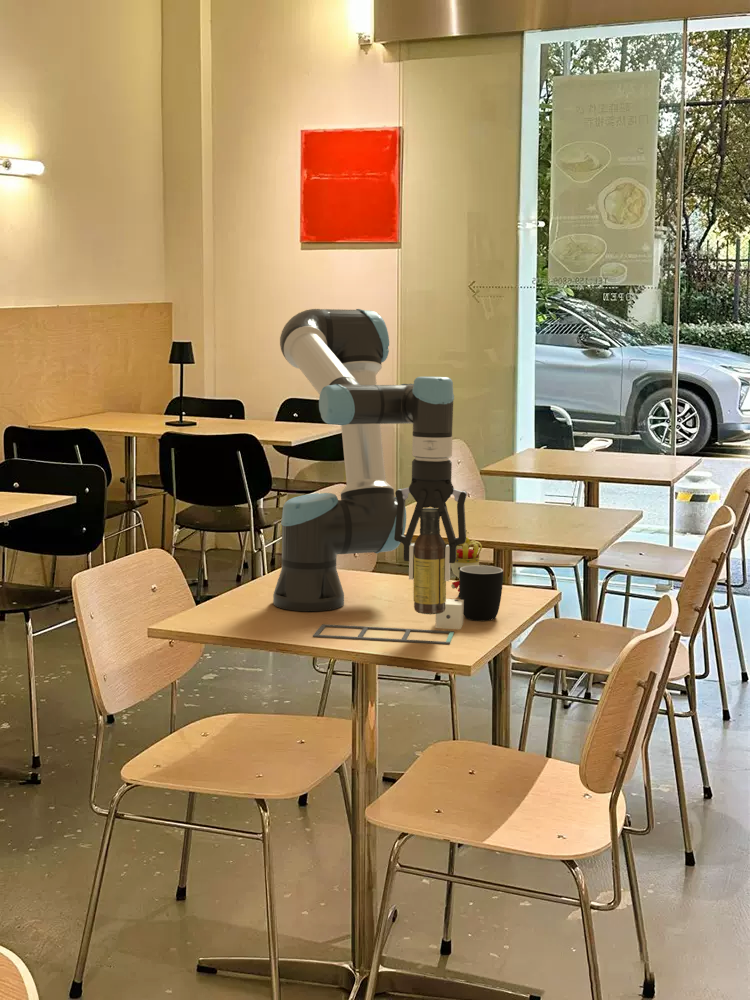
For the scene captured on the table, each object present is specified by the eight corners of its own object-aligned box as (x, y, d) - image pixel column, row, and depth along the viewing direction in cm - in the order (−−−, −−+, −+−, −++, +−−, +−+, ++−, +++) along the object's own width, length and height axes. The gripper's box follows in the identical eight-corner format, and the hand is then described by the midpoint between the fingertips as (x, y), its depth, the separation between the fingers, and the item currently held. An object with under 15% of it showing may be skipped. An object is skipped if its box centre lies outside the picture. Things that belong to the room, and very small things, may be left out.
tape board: (322, 625, 252) (322, 624, 251) (454, 632, 248) (454, 631, 248) (312, 636, 242) (312, 635, 242) (449, 644, 238) (449, 642, 238)
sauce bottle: (433, 606, 247) (436, 505, 244) (451, 613, 242) (455, 510, 239) (405, 609, 244) (408, 507, 241) (424, 616, 238) (427, 512, 236)
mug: (510, 620, 259) (511, 571, 258) (473, 624, 255) (475, 575, 253) (478, 608, 269) (479, 561, 268) (442, 612, 265) (443, 564, 264)
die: (438, 622, 256) (439, 597, 256) (463, 623, 255) (463, 598, 255) (435, 628, 251) (435, 602, 250) (460, 630, 250) (460, 604, 250)
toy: (453, 600, 276) (455, 533, 274) (443, 593, 283) (445, 527, 281) (484, 599, 278) (486, 532, 276) (474, 592, 285) (476, 527, 283)
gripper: (378, 459, 237) (377, 580, 240) (481, 462, 234) (478, 584, 237) (384, 455, 244) (382, 573, 247) (484, 458, 241) (480, 577, 244)
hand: (429, 578), depth 242 cm, fingers closed on sauce bottle, 6 cm apart
